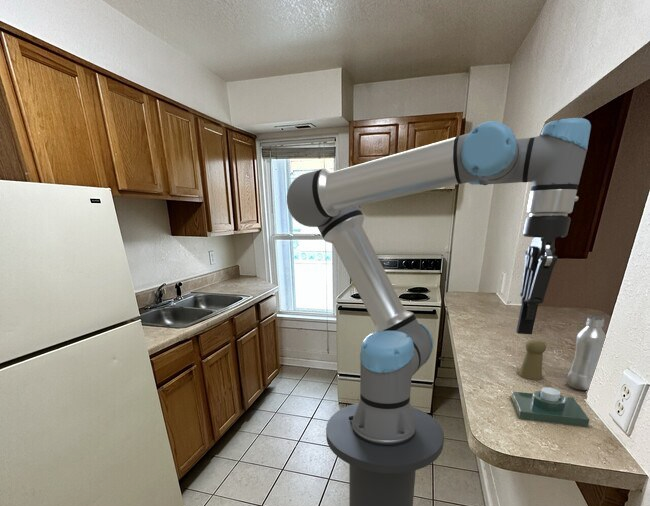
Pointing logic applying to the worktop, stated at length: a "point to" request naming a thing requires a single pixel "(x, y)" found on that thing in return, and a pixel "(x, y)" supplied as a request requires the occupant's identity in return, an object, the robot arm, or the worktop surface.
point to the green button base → (549, 409)
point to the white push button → (550, 394)
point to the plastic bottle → (587, 353)
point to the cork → (533, 360)
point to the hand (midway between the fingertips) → (523, 332)
